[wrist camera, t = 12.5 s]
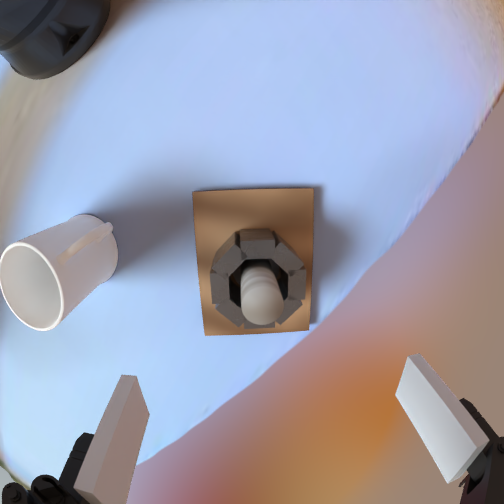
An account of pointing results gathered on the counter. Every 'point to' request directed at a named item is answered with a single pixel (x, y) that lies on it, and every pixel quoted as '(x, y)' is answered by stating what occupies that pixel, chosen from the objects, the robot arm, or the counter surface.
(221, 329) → the post block
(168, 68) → the counter surface
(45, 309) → the mug
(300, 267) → the ring
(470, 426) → the robot arm
